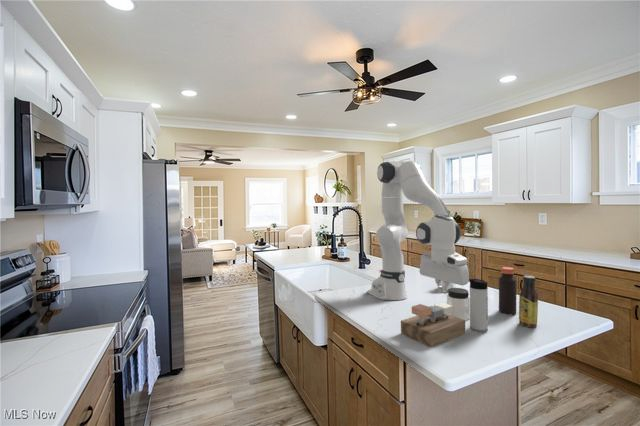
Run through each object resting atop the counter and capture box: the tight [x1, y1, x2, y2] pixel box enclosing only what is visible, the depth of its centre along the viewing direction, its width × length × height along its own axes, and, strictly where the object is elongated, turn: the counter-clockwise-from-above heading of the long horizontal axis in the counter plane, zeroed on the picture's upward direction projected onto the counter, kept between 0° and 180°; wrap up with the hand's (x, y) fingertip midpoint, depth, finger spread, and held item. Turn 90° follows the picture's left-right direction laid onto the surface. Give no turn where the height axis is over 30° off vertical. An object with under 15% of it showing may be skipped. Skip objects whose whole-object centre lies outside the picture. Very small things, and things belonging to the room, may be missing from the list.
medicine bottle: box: [440, 280, 457, 292], centre depth 179 cm, size 7×7×12 cm
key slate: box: [428, 305, 443, 322], centre depth 121 cm, size 5×5×8 cm
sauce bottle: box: [518, 274, 539, 328], centre depth 126 cm, size 6×6×20 cm
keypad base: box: [400, 314, 466, 348], centre depth 121 cm, size 14×20×5 cm
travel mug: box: [469, 278, 489, 334], centre depth 123 cm, size 6×7×20 cm
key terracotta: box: [411, 303, 432, 327], centre depth 117 cm, size 5×5×8 cm
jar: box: [446, 287, 470, 322], centre depth 136 cm, size 9×8×12 cm
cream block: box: [433, 302, 453, 319], centre depth 124 cm, size 5×5×8 cm
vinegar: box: [498, 266, 517, 316], centre depth 141 cm, size 7×7×20 cm
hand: (442, 291), depth 124 cm, fingers closed
